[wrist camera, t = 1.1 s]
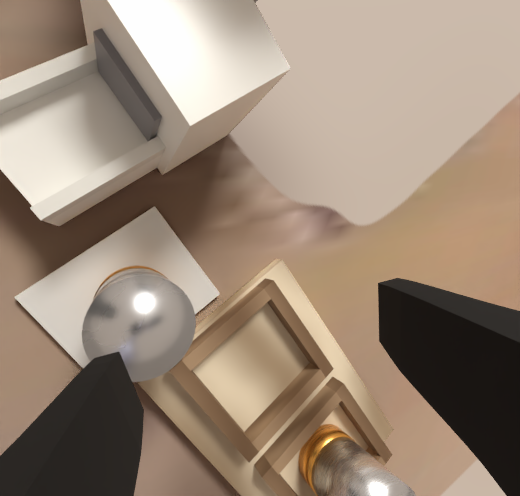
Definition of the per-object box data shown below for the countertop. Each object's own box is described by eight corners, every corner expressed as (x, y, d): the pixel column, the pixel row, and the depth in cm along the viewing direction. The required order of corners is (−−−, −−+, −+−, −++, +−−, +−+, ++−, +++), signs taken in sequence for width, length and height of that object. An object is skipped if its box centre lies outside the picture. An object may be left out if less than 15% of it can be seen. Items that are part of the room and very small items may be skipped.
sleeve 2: (318, 496, 21) (385, 582, 16) (287, 459, 20) (348, 537, 15) (355, 448, 23) (429, 512, 17) (328, 411, 22) (397, 467, 16)
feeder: (65, 234, 16) (19, 223, 9) (-23, 131, 14) (-169, 13, 7) (227, 134, 20) (290, 68, 12) (170, 44, 18) (203, -93, 11)
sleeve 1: (127, 354, 17) (130, 406, 11) (76, 297, 16) (52, 324, 10) (187, 305, 18) (216, 331, 13) (144, 250, 17) (155, 252, 12)
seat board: (290, 544, 22) (308, 575, 20) (136, 376, 17) (138, 393, 15) (383, 422, 25) (406, 437, 23) (275, 259, 21) (291, 260, 19)
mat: (104, 386, 17) (104, 390, 16) (16, 295, 15) (14, 297, 15) (218, 292, 19) (220, 293, 19) (154, 206, 18) (154, 206, 17)
